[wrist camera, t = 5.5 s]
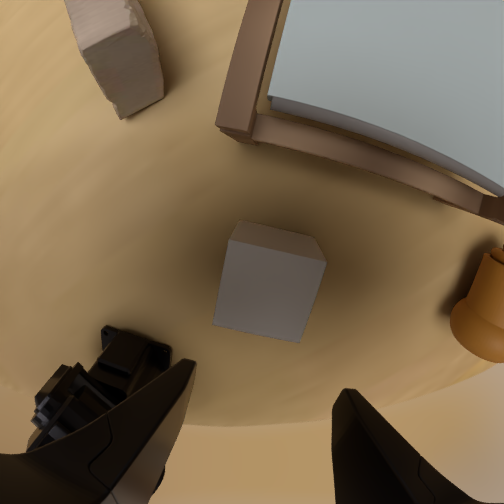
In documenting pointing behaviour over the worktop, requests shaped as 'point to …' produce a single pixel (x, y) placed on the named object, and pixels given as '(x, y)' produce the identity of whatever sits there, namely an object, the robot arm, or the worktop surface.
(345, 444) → the robot arm
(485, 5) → the trapdoor
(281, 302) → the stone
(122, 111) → the grey block
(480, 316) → the ornamental finial
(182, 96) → the worktop surface
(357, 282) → the worktop surface
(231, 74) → the stand
